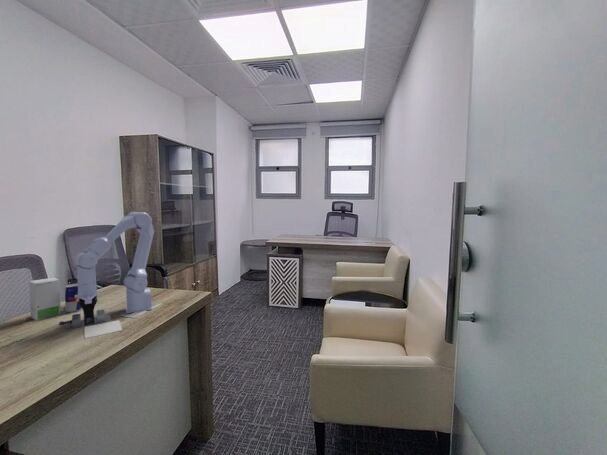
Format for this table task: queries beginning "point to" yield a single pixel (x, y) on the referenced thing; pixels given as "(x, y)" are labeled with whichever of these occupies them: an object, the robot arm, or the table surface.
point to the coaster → (102, 329)
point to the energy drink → (72, 299)
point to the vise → (78, 322)
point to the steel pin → (89, 319)
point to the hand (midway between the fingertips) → (89, 316)
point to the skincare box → (44, 298)
